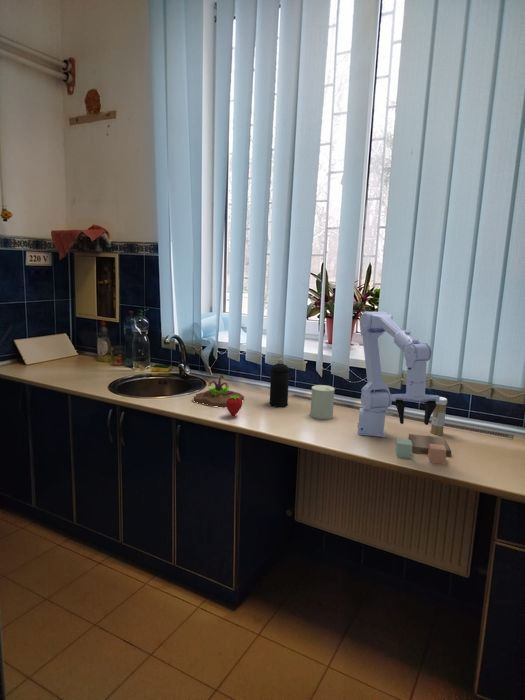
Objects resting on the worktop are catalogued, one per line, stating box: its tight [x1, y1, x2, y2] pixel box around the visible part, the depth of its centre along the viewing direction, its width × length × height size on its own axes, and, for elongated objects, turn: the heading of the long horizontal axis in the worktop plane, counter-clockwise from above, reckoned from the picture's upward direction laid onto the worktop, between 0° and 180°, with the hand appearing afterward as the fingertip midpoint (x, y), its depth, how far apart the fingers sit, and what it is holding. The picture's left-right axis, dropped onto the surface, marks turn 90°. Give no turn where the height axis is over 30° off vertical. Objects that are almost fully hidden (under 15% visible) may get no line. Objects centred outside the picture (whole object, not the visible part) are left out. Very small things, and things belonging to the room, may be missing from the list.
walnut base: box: [407, 433, 452, 457], centre depth 161 cm, size 12×12×2 cm
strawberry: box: [226, 395, 243, 417], centre depth 185 cm, size 6×8×10 cm
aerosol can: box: [268, 357, 291, 408], centre depth 201 cm, size 8×8×20 cm
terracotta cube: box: [427, 444, 447, 465], centre depth 150 cm, size 4×4×4 cm
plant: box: [193, 374, 245, 408], centre depth 206 cm, size 20×20×11 cm
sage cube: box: [395, 438, 413, 459], centre depth 154 cm, size 4×4×4 cm
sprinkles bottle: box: [429, 396, 448, 436], centre depth 174 cm, size 5×5×13 cm
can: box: [309, 384, 336, 420], centre depth 190 cm, size 9×9×12 cm
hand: (413, 423), depth 152 cm, fingers open, 7 cm apart
